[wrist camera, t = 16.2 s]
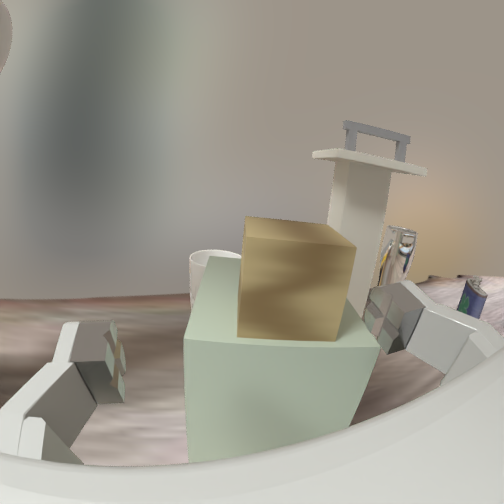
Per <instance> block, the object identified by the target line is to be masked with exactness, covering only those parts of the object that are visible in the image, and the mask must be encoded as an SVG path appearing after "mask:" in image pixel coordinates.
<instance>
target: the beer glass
mask: <svg viewBox="0 0 504 504" xmlns="http://www.w3.org/2000/svg"><path fill="white" fill-rule="evenodd" d="M417 235H418V233H417V232H415V231H413V230H410V229H407V228H403V227H398V226H390V225H389V226H387V229H386V233H385V236H384V240H383V245H382V249H381V257H380V275H379V281H378V285H377V286H382V285H387V284H392V283H396V282H400V281H404V280H405V278H406V276H407V274H408V272H409V269H410V267H411V264H412V261H413V258H414V254H415V249H416V243H417Z"/></svg>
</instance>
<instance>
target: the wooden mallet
mask: <svg viewBox="0 0 504 504" xmlns="http://www.w3.org/2000/svg"><path fill="white" fill-rule="evenodd" d="M356 250H357V247H356V246H355V245H353V244H352V243H351V242H349V241H348V240H347V239H346V238H344V237H343V236H342V235H341V234H339V233H338V232H337V231H335V230H334V229H333V228H331V227H330V226H329V225H324V224H315V223H307V222H298V221H289V220H279V219H270V218H259V217H249V216H246V217H245V225H244V235H243V245H242V256H241V266H240V276H239V287H238V306H237V337H240V338H254V339H271V340H292V341H327V342H335V341H336V337H337V333H338V329H339V326H340V322H341V318H342V314H343V310H344V305H345V301H346V297H347V293H348V288H349V284H350V279H351V275H352V270H353V265H354V260H355V255H356Z"/></svg>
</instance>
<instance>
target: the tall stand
mask: <svg viewBox="0 0 504 504" xmlns="http://www.w3.org/2000/svg"><path fill="white" fill-rule="evenodd" d="M343 129H345V130H347V133H346V143H345V149H338V148H336V149H328V150H321V151H313V153H312V158H315V159H321V160H328V161H334V162H335V170H334V177H333V185H332V193H331V200H330V207H329V214H328V221H327V225H329V226H330V227H331V228H333V229H334V230H335V231H337V232H338V233H339V234H341V235H342V236H343V237H344V238H346V239H347V240H348V241H349V242H351V243H352V244H353V245H355V246H356V247H357V250H356V255H355V260H354V265H353V270H352V275H351V279H350V284H349V288H348V293H347V297H346V298H347V299H348V301H349V302H350V303H351V305H352V306H353V307H354V309H355V310H356V312H357V313H358V314H359V316H360V317H361V319H362V317H363V313H364V309H365V305H366V302H367V298H368V294H369V290H370V285H371V281H372V277H373V273H374V268H375V264H376V259H377V255H378V250H379V245H380V239H381V235H382V229H383V224H384V218H385V212H386V206H387V199H388V193H389V186H390V178H391V172H396V173H404V174H412V175H419V176H426V175H427V168H423V167H420V166H416V165H412V164H408V163H405V155H406V145H407V144H410V136H407V135H404V134H400V133H396V132H393V131H389V130H385V129H381V128H377V127H373V126H369V125H365V124H361V123H356V122H352V121H347V120H346V121H344V123H343ZM357 132H359V133H364V134H369V135H373V136H377V137H381V138H385V139H389V140H393V141H396V152H395V160H392V159H388V158H383V157H378V156H374V155H369V154H365V153H360V152H355V149H356V148H355V147H356V139H357Z"/></svg>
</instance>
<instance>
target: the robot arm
mask: <svg viewBox="0 0 504 504" xmlns="http://www.w3.org/2000/svg"><path fill="white" fill-rule="evenodd" d="M11 42H12V22H11V17H10V14H9V11H8V9H7V8H6V6H5V5H4V4H3V2H2V1H1V0H0V73H1V71H2V69H3V67H4V65H5V63H6V60H7V58H8V55H9V51H10V47H11ZM369 298H370V300H371V302H370V304H369V305H368V306H367V307H366V310H365V314H364V320H365V325H366V327H367V329H368V331H369V332H370V333H371V334H373V335H375V336H377V342H378V344H379V345H380V346H381V347H382V349H383V350H384V351H385V353H386V354H387V355H388V354H391V353H394V352H397V351H400V350H404V349H406V351H408V352H410V353H411V354H413V355H415V356H416V357H418V358H419V359H421V360H423V361H424V362H426V363H428V364H429V365H431V366H433V367H434V368H436V369H438V370H439V371H441V372H442V373H444V374H445V376H444V378H443V379H442V381H441V382H440V387H438V388H436V389H434V390H432V391H430V392H428V393H426V394H424V395H422V396H420V397H418V398H416V399H414V400H412V401H410V402H408V403H405V404H403V405H401V406H399V407H397V408H394V409H392V410H390V411H387V412H385V413H383V414H380V415H378V416H375V417H373V418H370V419H368V420H365V421H363V422H360V423H357V424H355V425H352V426H349V427H346V428H343V429H341V430H338V431H335V432H332V433H329V434H325V435H322V436H319V437H316V438H312V439H309V440H305V441H302V442H298V443H294V444H291V445H287V446H283V447H279V448H275V449H270V450H266V451H261V452H256V453H251V454H246V455H241V456H235V457H229V458H223V459H216V460H209V461H201V462H192V463H182V464H170V465H153V466H98V465H84V463H83V462H82V461H81V460H80V459H79V458H78V457H77V456H76V455H75V454H74V453H73V452H72V451H71V450H70V447H71V446H72V444H73V442H74V441H75V439H76V438H77V436H78V435H79V433H80V432H81V430H82V428H83V427H84V425H85V424H86V422H87V421H88V419H89V418H90V416H91V415H92V413H93V412H94V410H95V409H96V407H97V404H115V403H124V396H125V384H124V381H123V379H122V376H123V375H124V374H125V369H126V364H125V354H124V350H123V346H122V343H121V342H120V341H119V340H118V339H117V332H118V330H117V328H116V325H115V322H114V321H113V320H107V321H81V322H66V323H65V324H64V325H63V327H62V330H61V333H60V337H59V340H58V343H57V346H56V350H55V353H54V357H53V361H52V363H47V364H46V365H45V366H43V367H42V368H41V369H40V370H39V371H38V372H37V373H36V374H35V375H34V376H33V377H32V378H31V379H30V380H29V381H28V382H27V383H26V384H25V385H24V386H23V387H22V388H21V389H20V390H19V391H18V392H17V393H16V394H15V395H14V396H13V397H12V398H11V399H10V400H9V401H8V402H7V403H6V404H5V405H4V406H3V407H2V408H1V409H0V504H504V338H503V337H502V336H501V335H500V334H499V333H498V332H497V331H496V330H495V329H494V328H493V327H492V326H491V325H490V324H489V323H486V322H484V321H482V320H479V319H477V318H474V317H472V316H469V315H467V314H464V313H462V312H459V311H457V310H454V309H452V308H449V307H447V306H444V305H442V304H436V303H435V302H434V301H433V300H431V299H430V298H429V297H428V296H427V295H426V294H425V293H424V292H423V291H422V290H421V289H420V288H418V287H417V286H416V285H415V284H414V283H413V282H412V281H409V280H404V281H400V282H396V283H392V284H387V285H382V286H377V287H374V288H373V289H372V291H371V293H370V296H369Z"/></svg>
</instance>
